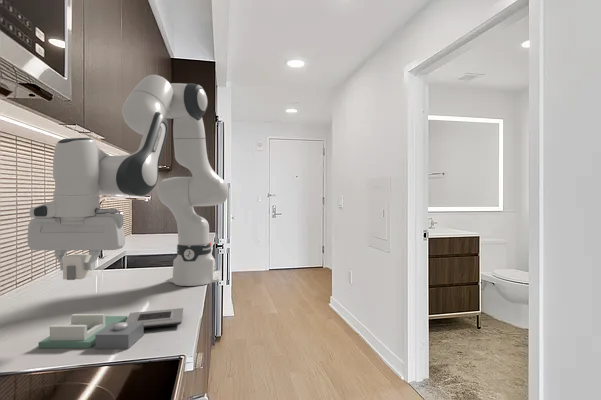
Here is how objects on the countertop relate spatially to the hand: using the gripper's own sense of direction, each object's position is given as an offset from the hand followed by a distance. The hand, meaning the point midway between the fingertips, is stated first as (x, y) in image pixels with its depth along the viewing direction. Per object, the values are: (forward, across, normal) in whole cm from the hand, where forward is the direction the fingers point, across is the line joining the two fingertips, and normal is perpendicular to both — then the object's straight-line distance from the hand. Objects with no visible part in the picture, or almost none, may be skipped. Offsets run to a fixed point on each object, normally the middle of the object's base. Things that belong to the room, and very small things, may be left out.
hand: (77, 269), depth 79 cm
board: (+15, 0, -3) cm, 16 cm away
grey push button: (+16, -10, +2) cm, 19 cm away
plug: (+2, 0, 0) cm, 2 cm away
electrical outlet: (+16, -14, -9) cm, 23 cm away
